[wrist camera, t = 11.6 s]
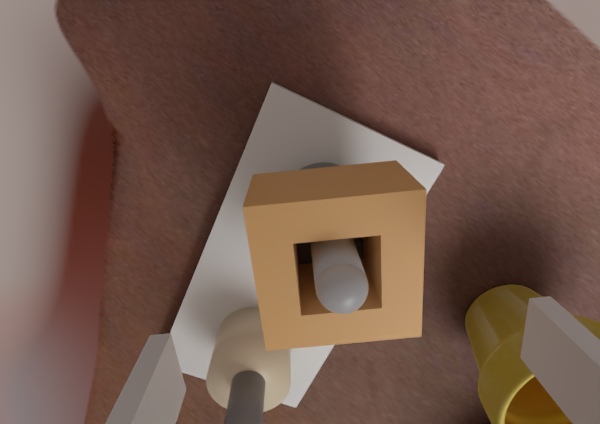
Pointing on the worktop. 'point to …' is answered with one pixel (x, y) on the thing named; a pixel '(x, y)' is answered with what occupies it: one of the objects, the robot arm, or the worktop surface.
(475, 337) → the plant pot
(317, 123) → the assembly board
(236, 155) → the worktop surface
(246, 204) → the collar
